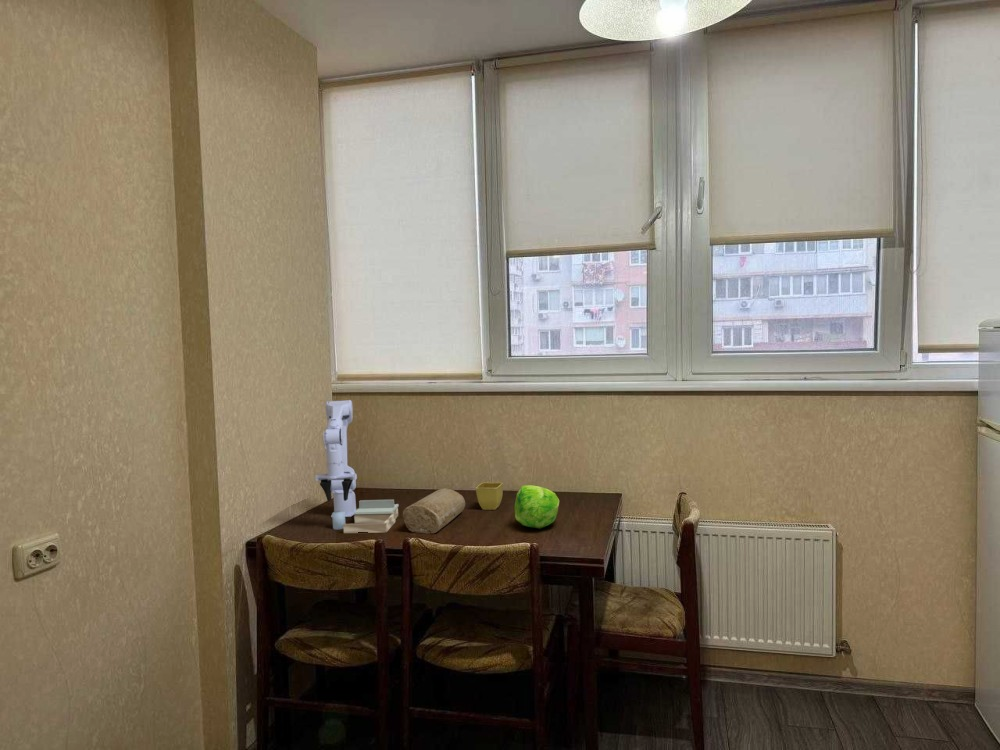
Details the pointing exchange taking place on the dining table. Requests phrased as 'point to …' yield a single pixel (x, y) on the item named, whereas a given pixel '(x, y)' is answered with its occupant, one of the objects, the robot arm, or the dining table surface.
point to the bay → (371, 523)
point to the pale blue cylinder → (338, 519)
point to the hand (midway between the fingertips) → (337, 500)
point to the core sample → (433, 511)
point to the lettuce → (536, 506)
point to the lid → (376, 507)
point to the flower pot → (489, 495)
